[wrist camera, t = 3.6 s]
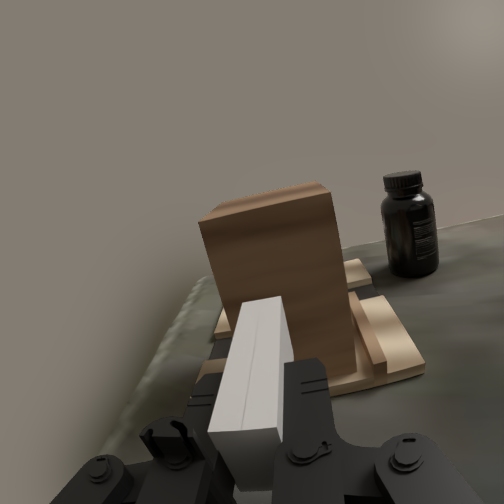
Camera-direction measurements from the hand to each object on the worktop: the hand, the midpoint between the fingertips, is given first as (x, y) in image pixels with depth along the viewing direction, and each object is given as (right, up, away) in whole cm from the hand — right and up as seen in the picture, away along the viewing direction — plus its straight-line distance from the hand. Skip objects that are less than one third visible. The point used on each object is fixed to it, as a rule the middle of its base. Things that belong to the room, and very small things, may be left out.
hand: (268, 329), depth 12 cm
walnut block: (+4, -5, +13) cm, 15 cm away
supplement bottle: (+20, +1, +25) cm, 32 cm away
